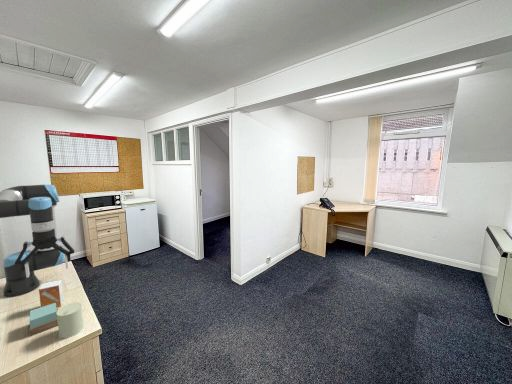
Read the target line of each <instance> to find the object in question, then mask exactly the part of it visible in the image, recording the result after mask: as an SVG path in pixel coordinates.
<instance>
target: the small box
mask: <svg viewBox="0 0 512 384" xmlns="http://www.w3.org/2000/svg"><path fill="white" fill-rule="evenodd" d="M38 294H39V304H40V308H41V307H44V306H47V305H50V304H53V303H56V308H59V307H60V308H62V305H63V303H64V293H63V283H62V279H59V280H55V281H50V282H44V283H41V284H40V286H39V289H38Z"/></svg>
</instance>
